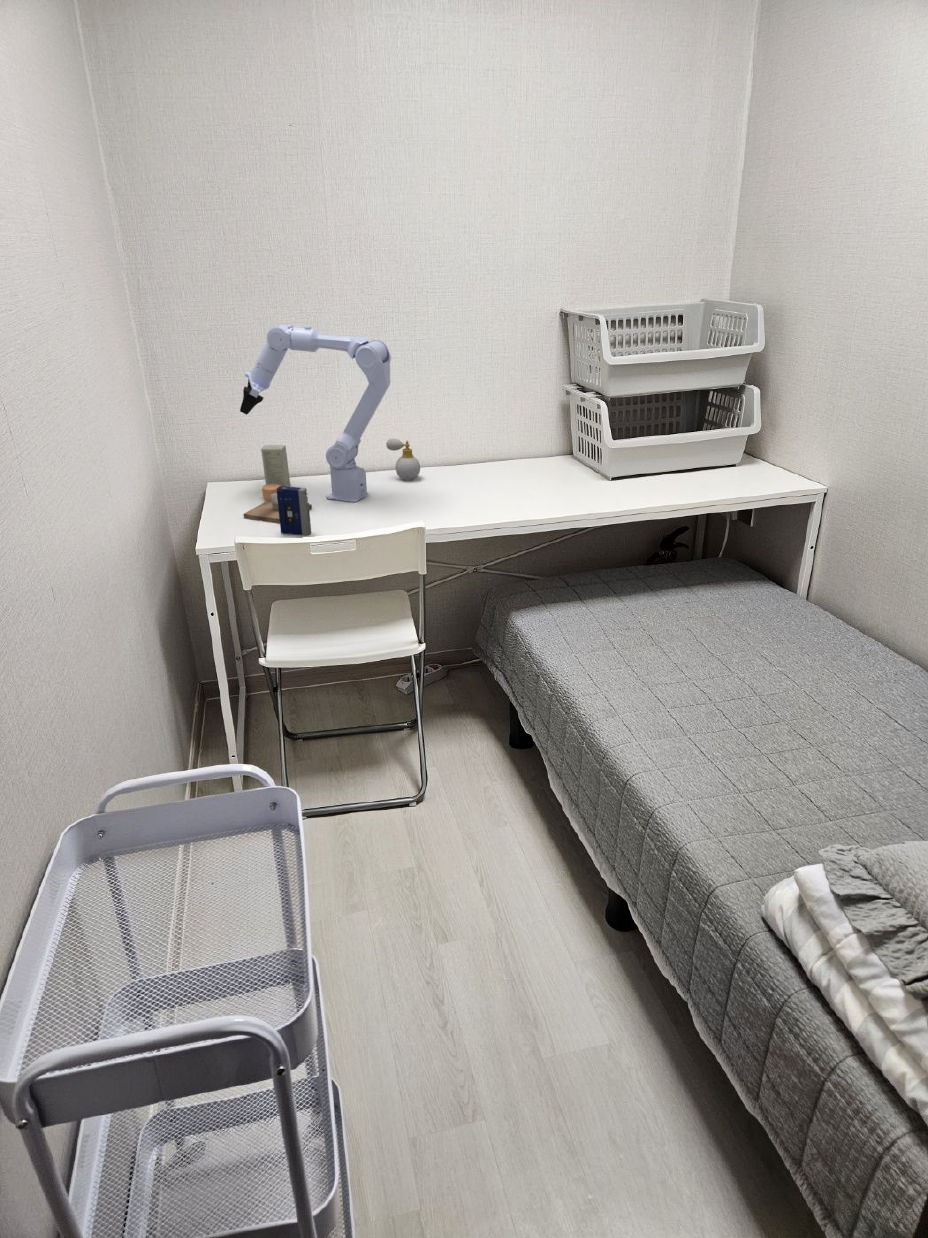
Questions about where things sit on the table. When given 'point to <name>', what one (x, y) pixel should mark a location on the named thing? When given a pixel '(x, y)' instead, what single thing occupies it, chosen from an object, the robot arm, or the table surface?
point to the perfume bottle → (404, 460)
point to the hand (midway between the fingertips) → (245, 406)
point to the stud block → (266, 511)
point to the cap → (269, 491)
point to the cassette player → (293, 510)
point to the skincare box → (275, 465)
